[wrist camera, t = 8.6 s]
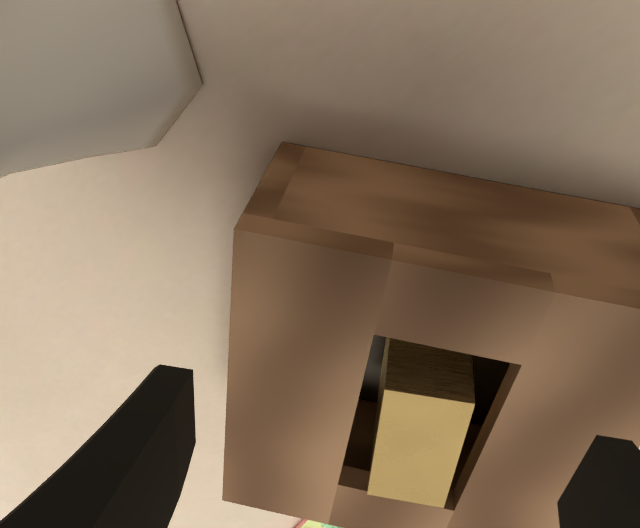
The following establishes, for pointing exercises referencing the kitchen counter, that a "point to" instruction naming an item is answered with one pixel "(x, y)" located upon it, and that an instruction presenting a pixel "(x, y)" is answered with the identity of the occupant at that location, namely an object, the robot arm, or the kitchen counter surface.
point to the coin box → (424, 334)
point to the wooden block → (420, 421)
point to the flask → (89, 78)
